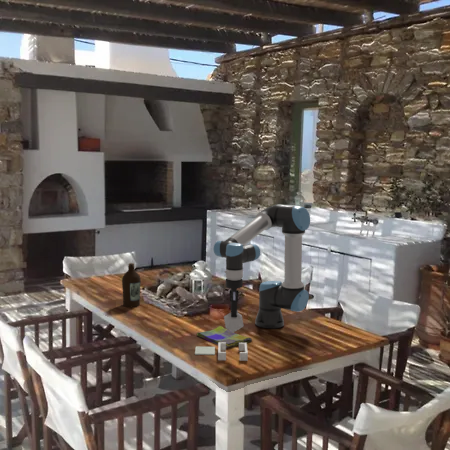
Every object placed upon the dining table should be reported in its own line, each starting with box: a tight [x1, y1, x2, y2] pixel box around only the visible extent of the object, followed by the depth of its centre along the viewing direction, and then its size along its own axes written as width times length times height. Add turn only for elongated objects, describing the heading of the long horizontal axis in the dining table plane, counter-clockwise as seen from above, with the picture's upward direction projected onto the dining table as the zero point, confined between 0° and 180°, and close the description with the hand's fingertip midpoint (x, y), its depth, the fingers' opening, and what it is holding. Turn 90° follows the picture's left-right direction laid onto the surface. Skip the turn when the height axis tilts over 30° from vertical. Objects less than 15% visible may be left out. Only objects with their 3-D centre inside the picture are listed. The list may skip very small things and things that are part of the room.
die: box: [223, 312, 245, 333], centre depth 251 cm, size 8×9×10 cm
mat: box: [194, 345, 216, 356], centre depth 259 cm, size 9×9×1 cm
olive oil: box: [121, 262, 142, 308], centre depth 327 cm, size 11×11×25 cm
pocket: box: [217, 342, 249, 362], centre depth 255 cm, size 13×13×4 cm
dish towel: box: [196, 325, 253, 349], centre depth 277 cm, size 18×24×3 cm
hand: (233, 328), depth 254 cm, fingers closed on die, 4 cm apart
